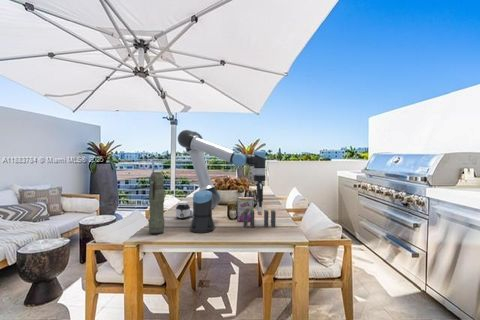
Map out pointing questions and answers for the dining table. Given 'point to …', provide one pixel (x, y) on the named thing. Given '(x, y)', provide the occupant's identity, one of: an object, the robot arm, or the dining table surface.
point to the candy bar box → (244, 207)
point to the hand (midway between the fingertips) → (259, 210)
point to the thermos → (156, 203)
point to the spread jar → (183, 210)
